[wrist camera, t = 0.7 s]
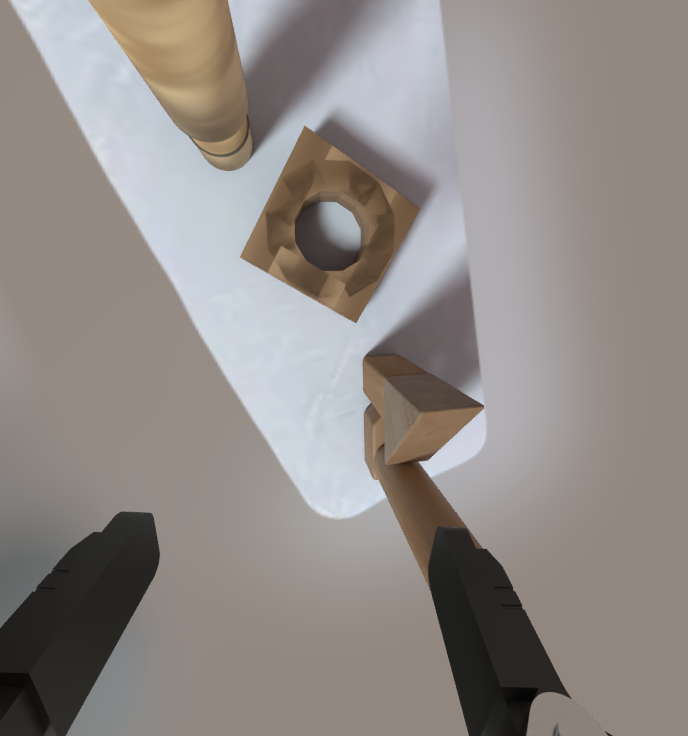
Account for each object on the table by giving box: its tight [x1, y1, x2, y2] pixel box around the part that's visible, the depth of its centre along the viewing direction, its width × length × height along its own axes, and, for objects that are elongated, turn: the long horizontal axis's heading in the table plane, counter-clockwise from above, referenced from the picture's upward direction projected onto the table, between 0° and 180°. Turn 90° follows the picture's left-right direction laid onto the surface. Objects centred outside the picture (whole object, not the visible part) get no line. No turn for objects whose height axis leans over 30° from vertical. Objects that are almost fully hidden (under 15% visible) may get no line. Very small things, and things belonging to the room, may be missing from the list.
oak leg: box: [88, 0, 253, 171], centre depth 17 cm, size 5×5×16 cm
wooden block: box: [363, 355, 484, 591], centre depth 23 cm, size 4×11×18 cm, turn 2°
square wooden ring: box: [240, 126, 420, 323], centre depth 26 cm, size 10×10×3 cm
